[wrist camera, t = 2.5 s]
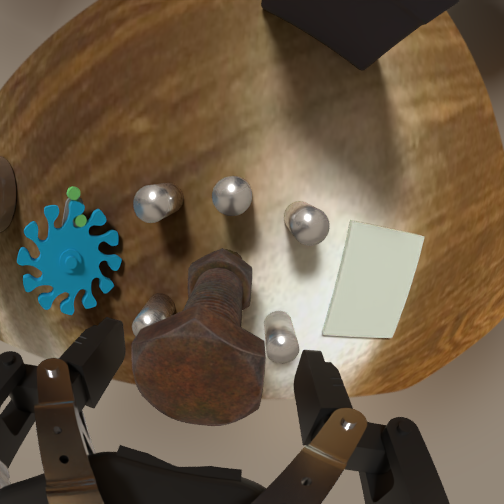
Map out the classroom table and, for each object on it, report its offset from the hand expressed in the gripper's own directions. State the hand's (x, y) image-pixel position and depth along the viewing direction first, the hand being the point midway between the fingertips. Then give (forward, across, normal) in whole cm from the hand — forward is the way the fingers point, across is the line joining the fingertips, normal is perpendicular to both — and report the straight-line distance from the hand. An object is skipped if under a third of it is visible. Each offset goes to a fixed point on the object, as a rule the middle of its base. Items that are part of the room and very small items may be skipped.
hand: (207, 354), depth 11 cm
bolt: (+13, 0, 0) cm, 13 cm away
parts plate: (+13, -14, 0) cm, 19 cm away
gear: (+13, +14, 0) cm, 19 cm away
